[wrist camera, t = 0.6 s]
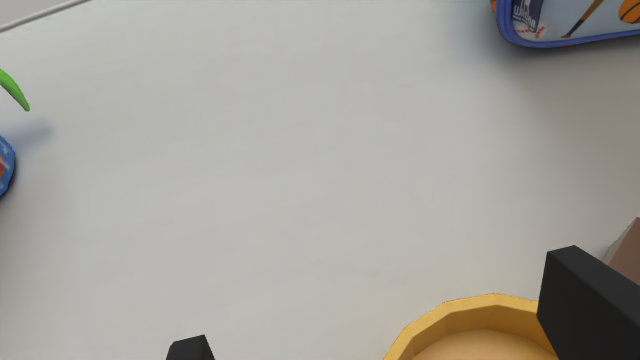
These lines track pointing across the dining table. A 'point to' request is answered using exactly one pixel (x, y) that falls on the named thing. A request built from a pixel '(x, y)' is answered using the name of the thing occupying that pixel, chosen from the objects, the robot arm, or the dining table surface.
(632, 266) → the walnut block
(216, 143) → the dining table surface
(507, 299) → the tin
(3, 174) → the snack cup
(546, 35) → the lunch box
